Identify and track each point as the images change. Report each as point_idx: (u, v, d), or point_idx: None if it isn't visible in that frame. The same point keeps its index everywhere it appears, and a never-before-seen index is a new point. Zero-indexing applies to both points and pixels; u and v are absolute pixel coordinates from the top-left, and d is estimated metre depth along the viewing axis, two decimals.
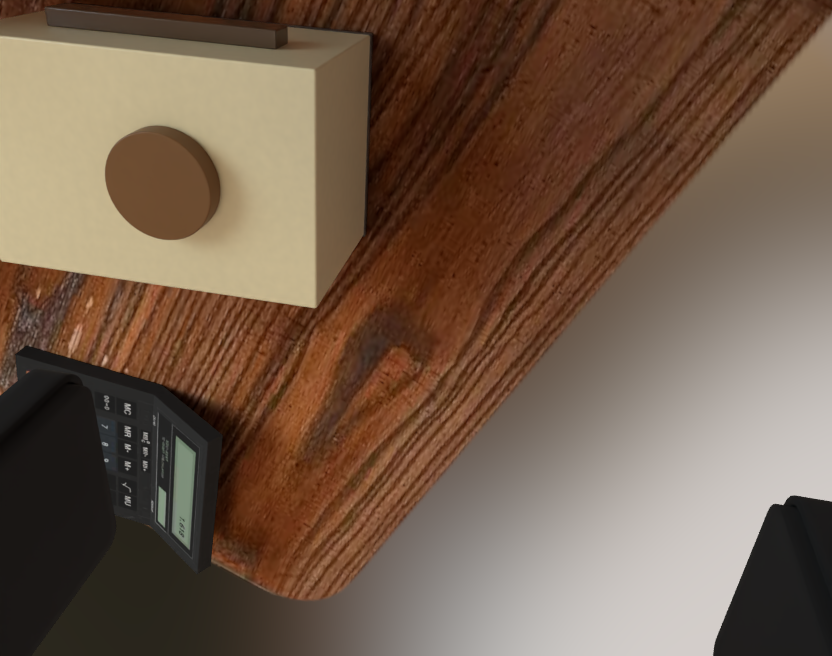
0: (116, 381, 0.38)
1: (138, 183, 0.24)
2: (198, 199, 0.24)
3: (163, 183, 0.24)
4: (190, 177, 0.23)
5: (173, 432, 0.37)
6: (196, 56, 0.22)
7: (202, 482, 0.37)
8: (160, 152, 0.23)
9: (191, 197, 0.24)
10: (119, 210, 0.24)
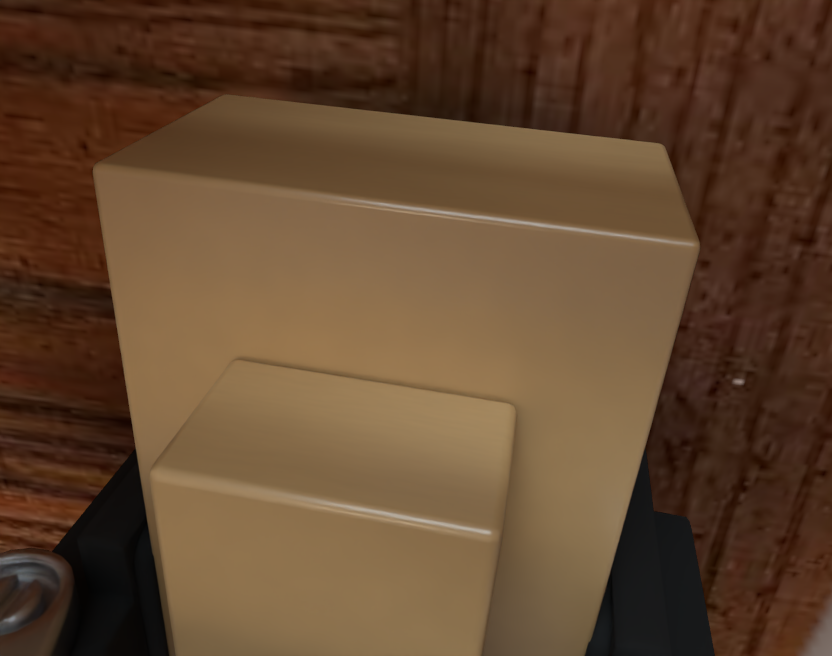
0: None
1: None
2: None
3: None
4: None
5: None
6: None
7: None
8: None
9: None
10: None
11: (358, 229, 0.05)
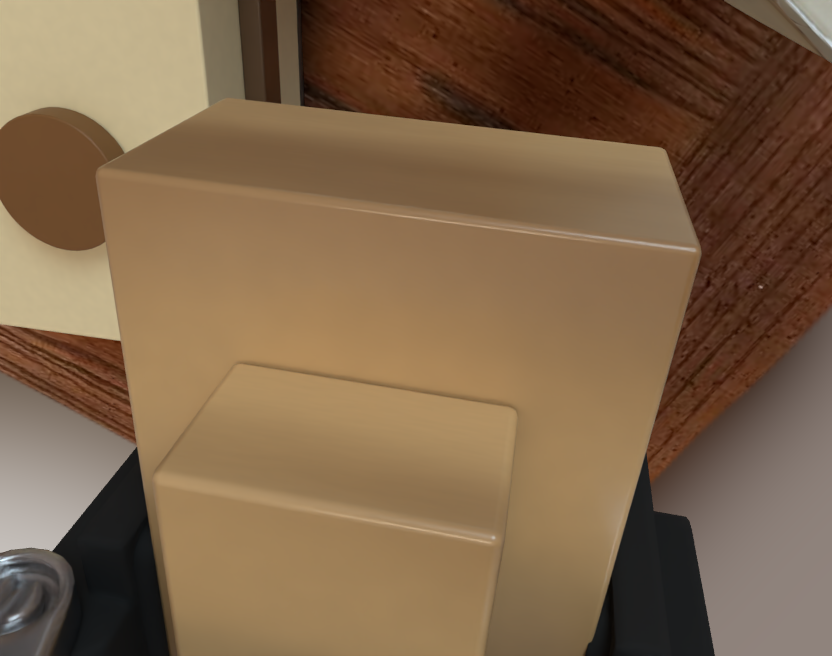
0: None
1: (52, 161, 0.19)
2: (58, 235, 0.20)
3: (63, 195, 0.19)
4: (81, 231, 0.19)
5: None
6: None
7: None
8: None
9: (57, 227, 0.20)
10: (7, 126, 0.18)
11: (361, 233, 0.05)
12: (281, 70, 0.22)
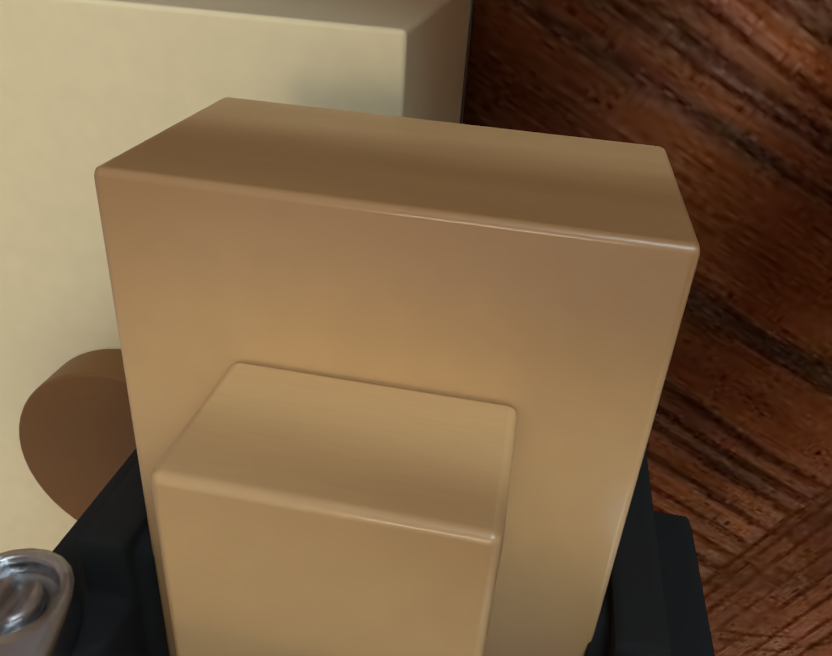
0: None
1: (119, 436, 0.12)
2: None
3: None
4: None
5: None
6: None
7: None
8: None
9: None
10: (51, 385, 0.12)
11: (359, 232, 0.05)
12: None
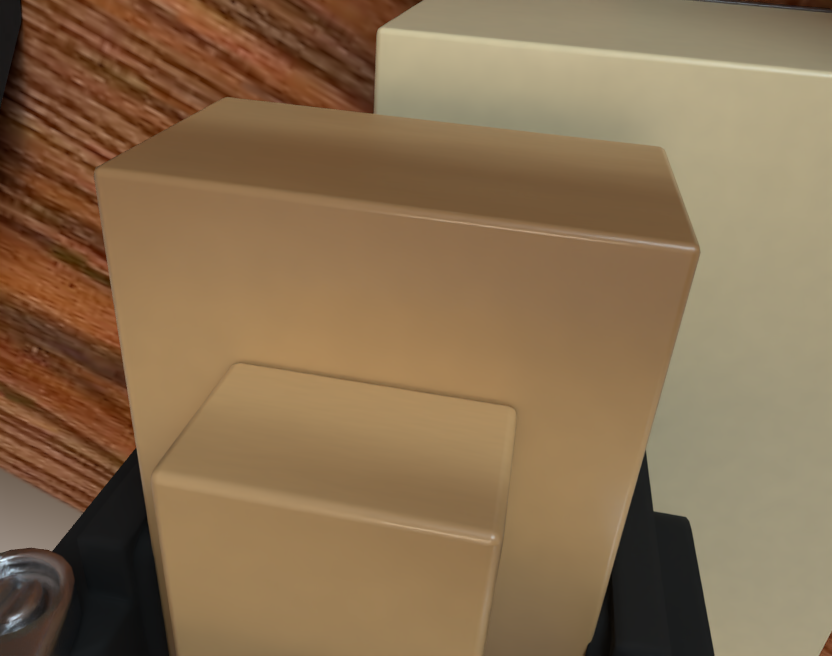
0: None
1: None
2: None
3: None
4: None
5: None
6: None
7: None
8: None
9: None
10: None
11: (358, 232, 0.05)
12: None
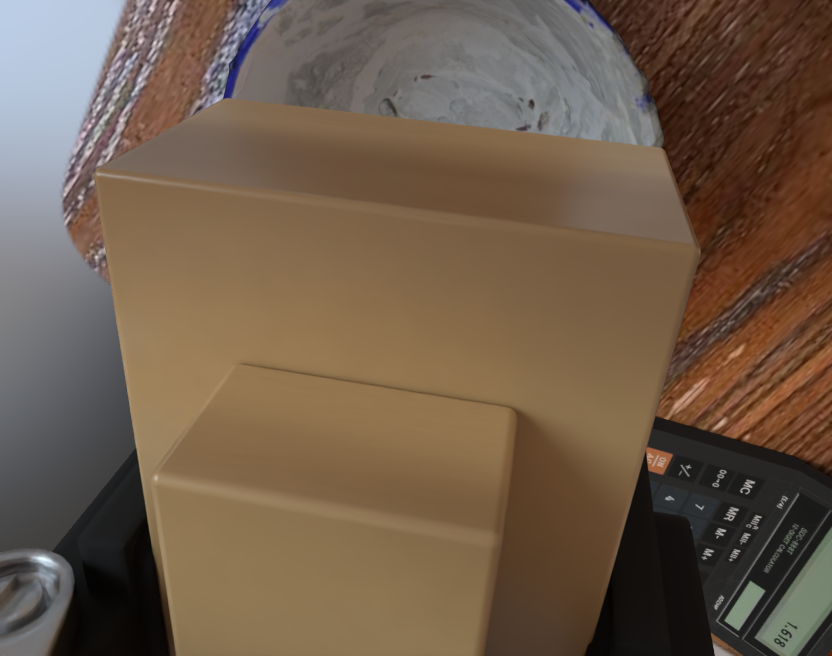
0: (745, 453, 0.29)
1: None
2: None
3: None
4: None
5: (828, 520, 0.28)
6: None
7: None
8: None
9: None
10: None
11: (359, 233, 0.05)
12: None
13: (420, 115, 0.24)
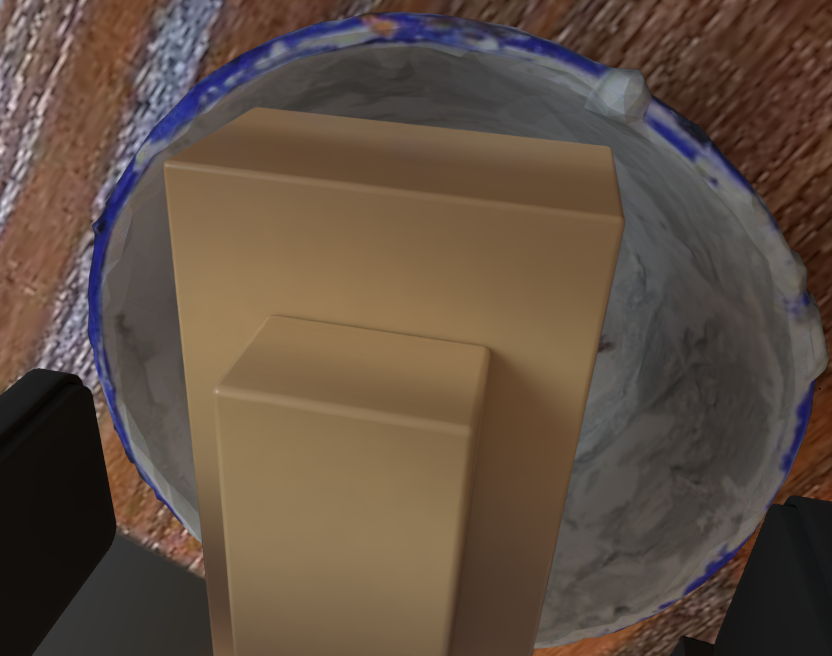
0: None
1: None
2: None
3: None
4: None
5: None
6: None
7: None
8: None
9: None
10: None
11: (368, 211, 0.07)
12: None
13: None
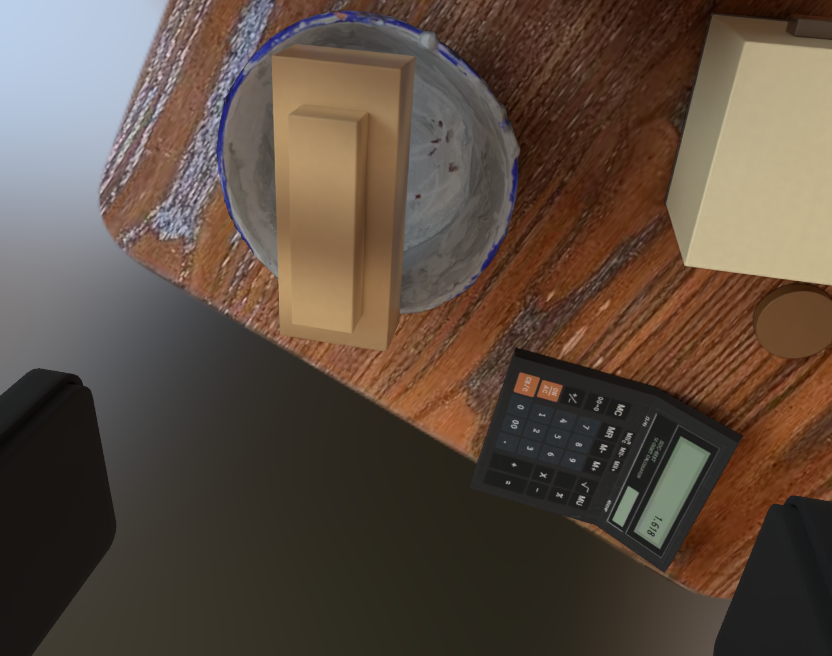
0: (616, 383, 0.38)
1: None
2: None
3: None
4: None
5: (677, 433, 0.38)
6: None
7: (710, 482, 0.37)
8: None
9: None
10: (766, 297, 0.35)
11: (331, 69, 0.25)
12: None
13: None
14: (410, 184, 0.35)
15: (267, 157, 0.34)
